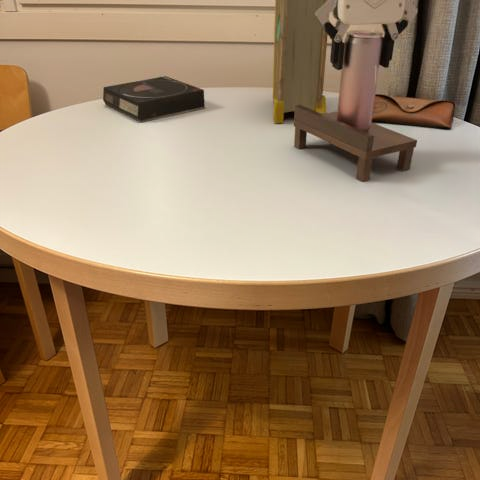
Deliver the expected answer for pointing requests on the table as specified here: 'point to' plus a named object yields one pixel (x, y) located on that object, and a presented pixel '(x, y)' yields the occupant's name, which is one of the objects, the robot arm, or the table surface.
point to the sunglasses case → (413, 111)
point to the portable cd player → (154, 98)
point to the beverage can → (359, 78)
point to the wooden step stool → (353, 139)
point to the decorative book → (298, 57)
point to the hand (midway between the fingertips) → (360, 66)
